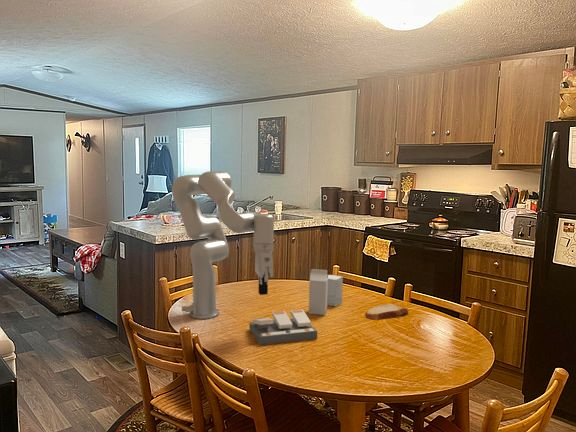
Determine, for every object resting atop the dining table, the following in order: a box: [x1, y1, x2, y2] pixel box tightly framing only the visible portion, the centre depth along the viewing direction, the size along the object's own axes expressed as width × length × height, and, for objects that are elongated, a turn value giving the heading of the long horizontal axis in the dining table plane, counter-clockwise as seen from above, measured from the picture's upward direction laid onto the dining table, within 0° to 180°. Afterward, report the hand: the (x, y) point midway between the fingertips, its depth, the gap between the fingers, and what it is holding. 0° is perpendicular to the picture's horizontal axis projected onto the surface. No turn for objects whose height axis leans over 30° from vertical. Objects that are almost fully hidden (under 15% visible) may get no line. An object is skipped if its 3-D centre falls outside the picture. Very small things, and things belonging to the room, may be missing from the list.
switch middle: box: [271, 310, 292, 329], centre depth 186 cm, size 5×10×2 cm, turn 18°
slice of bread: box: [364, 303, 409, 321], centre depth 211 cm, size 18×18×4 cm
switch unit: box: [248, 317, 318, 346], centre depth 185 cm, size 22×16×4 cm
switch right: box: [289, 308, 312, 327], centre depth 188 cm, size 5×10×2 cm, turn 18°
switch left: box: [252, 317, 274, 325], centre depth 183 cm, size 5×10×2 cm, turn 18°
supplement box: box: [327, 274, 344, 307], centre depth 225 cm, size 7×7×13 cm
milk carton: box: [308, 268, 329, 316], centre depth 211 cm, size 7×7×19 cm
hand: (263, 293), depth 186 cm, fingers closed
